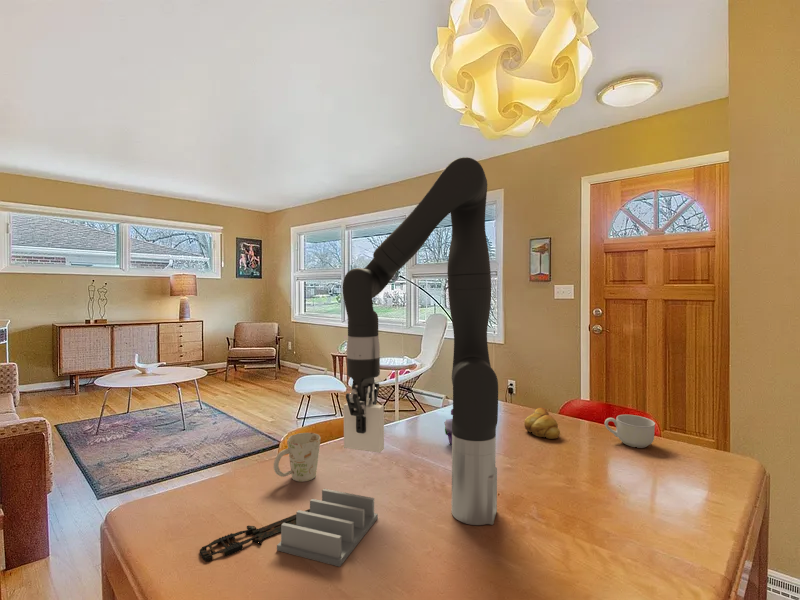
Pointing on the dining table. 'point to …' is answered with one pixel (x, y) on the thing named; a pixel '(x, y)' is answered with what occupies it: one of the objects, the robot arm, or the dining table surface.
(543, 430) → the bread roll
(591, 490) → the dining table surface
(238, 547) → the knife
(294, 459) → the mug
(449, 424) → the potion bottle
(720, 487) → the dining table surface
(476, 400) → the robot arm
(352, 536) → the dish rack
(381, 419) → the cream rectangular block
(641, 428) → the teacup
